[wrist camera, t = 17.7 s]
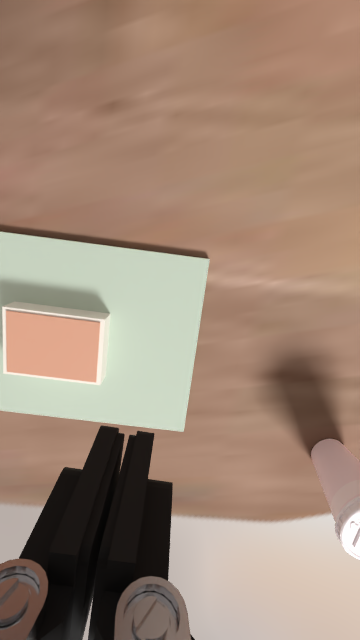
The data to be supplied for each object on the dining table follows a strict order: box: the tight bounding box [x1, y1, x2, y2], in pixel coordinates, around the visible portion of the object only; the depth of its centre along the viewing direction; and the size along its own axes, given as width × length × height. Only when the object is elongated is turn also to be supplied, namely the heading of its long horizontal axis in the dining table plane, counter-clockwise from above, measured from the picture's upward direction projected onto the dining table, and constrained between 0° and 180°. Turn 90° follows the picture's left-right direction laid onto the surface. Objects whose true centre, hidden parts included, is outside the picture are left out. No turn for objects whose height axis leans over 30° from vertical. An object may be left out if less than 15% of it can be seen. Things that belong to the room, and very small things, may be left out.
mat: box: [0, 231, 210, 432], centre depth 32 cm, size 18×20×1 cm
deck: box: [2, 301, 110, 385], centre depth 30 cm, size 6×2×9 cm
